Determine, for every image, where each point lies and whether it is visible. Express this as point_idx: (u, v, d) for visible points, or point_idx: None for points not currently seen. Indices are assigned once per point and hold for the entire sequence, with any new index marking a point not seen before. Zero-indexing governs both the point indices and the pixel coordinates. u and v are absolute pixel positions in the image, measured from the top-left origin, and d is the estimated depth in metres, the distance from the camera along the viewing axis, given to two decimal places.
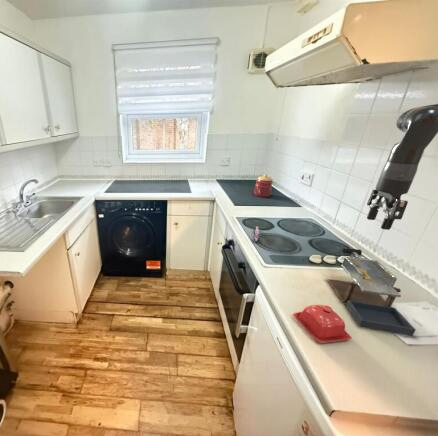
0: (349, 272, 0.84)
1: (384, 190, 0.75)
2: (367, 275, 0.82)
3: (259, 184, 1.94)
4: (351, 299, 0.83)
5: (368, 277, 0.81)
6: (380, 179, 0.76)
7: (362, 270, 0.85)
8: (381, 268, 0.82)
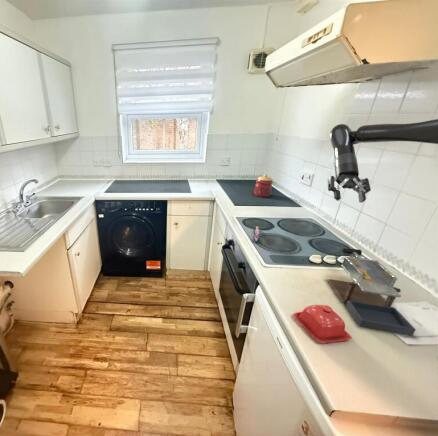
0: (349, 272, 0.84)
1: None
2: (367, 275, 0.82)
3: (259, 184, 1.94)
4: (351, 299, 0.83)
5: (368, 277, 0.81)
6: None
7: (362, 270, 0.85)
8: (381, 268, 0.82)
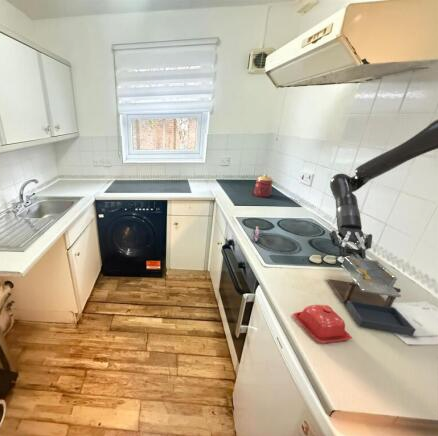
0: (349, 272, 0.84)
1: None
2: (367, 275, 0.82)
3: (259, 184, 1.94)
4: (351, 299, 0.83)
5: (368, 277, 0.81)
6: None
7: (362, 270, 0.85)
8: (381, 268, 0.82)
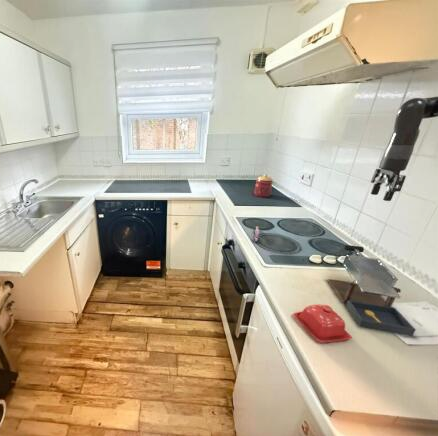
0: (350, 271, 0.84)
1: (386, 168, 0.90)
2: (377, 319, 0.75)
3: (259, 184, 1.94)
4: (351, 299, 0.83)
5: None
6: (383, 159, 0.91)
7: (369, 312, 0.78)
8: (382, 267, 0.81)
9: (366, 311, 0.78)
